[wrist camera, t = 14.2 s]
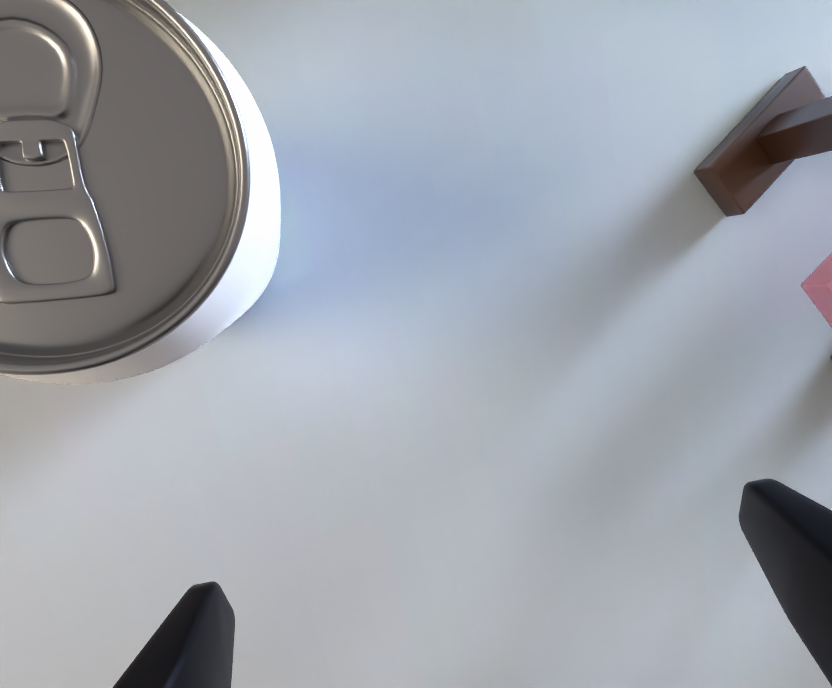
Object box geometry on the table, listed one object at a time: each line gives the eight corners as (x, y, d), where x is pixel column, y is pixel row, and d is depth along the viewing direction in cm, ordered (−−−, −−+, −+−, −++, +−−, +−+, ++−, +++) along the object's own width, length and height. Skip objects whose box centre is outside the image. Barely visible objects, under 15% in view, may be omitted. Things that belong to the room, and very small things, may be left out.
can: (267, 132, 19) (250, -98, 8) (290, 322, 20) (306, 374, 8) (55, 140, 18) (-361, -131, 6) (89, 344, 19) (-223, 442, 7)
